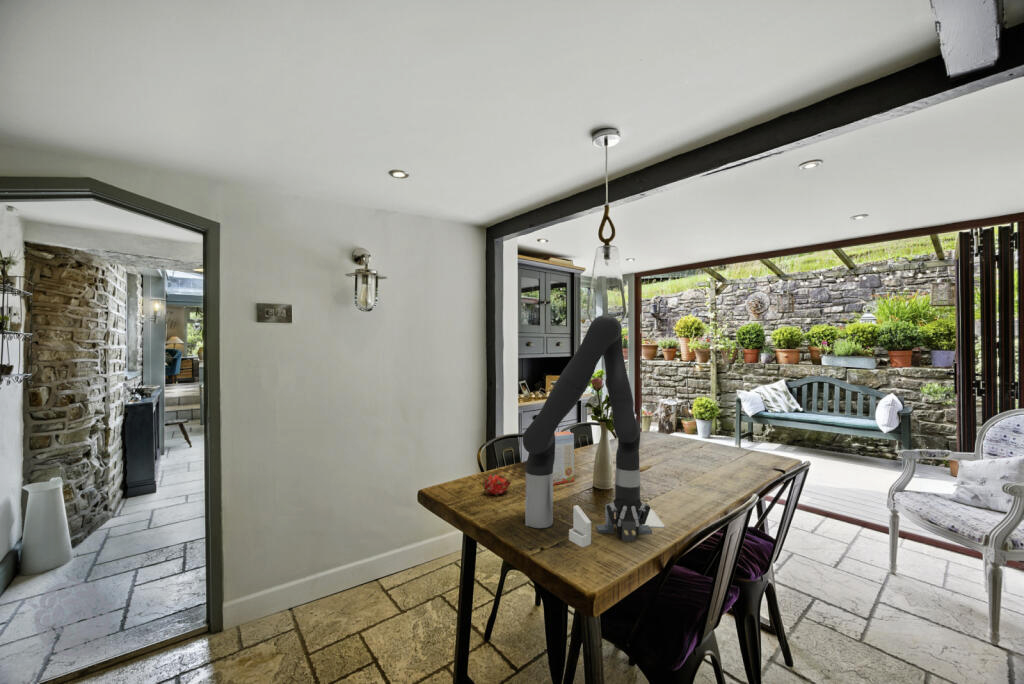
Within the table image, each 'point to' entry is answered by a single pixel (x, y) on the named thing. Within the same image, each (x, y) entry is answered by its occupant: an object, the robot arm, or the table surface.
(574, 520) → the white wedge bracket
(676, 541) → the table surface
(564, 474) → the cracker box
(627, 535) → the plug
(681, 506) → the table surface
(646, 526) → the grey arch bracket
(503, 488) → the dragon fruit
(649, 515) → the pad
